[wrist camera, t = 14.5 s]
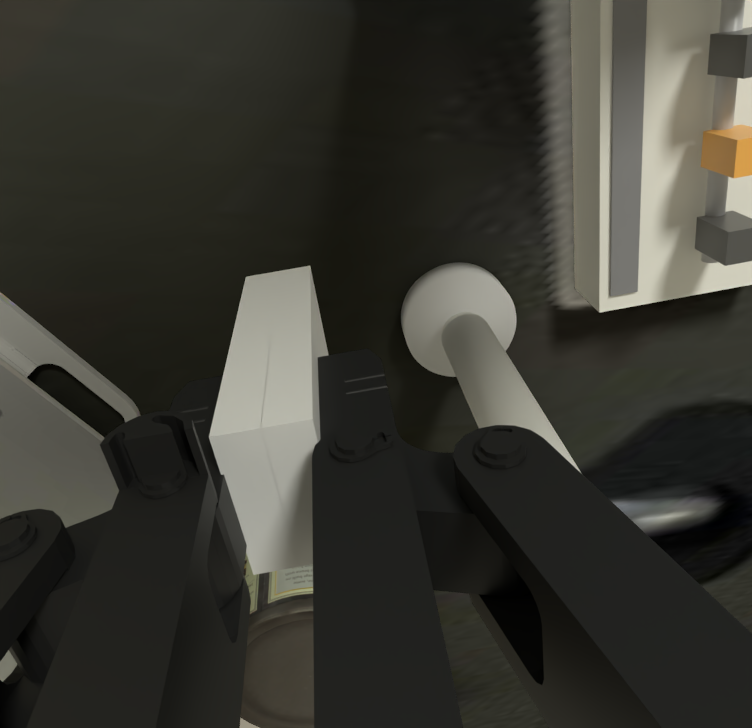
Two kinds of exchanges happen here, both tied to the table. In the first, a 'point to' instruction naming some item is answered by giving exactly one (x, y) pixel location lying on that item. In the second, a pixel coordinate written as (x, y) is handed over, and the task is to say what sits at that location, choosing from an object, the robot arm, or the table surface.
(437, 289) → the white peg stand
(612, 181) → the breaker panel
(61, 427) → the network device
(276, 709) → the coffee can
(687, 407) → the table surface
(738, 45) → the breaker paddles
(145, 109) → the table surface
